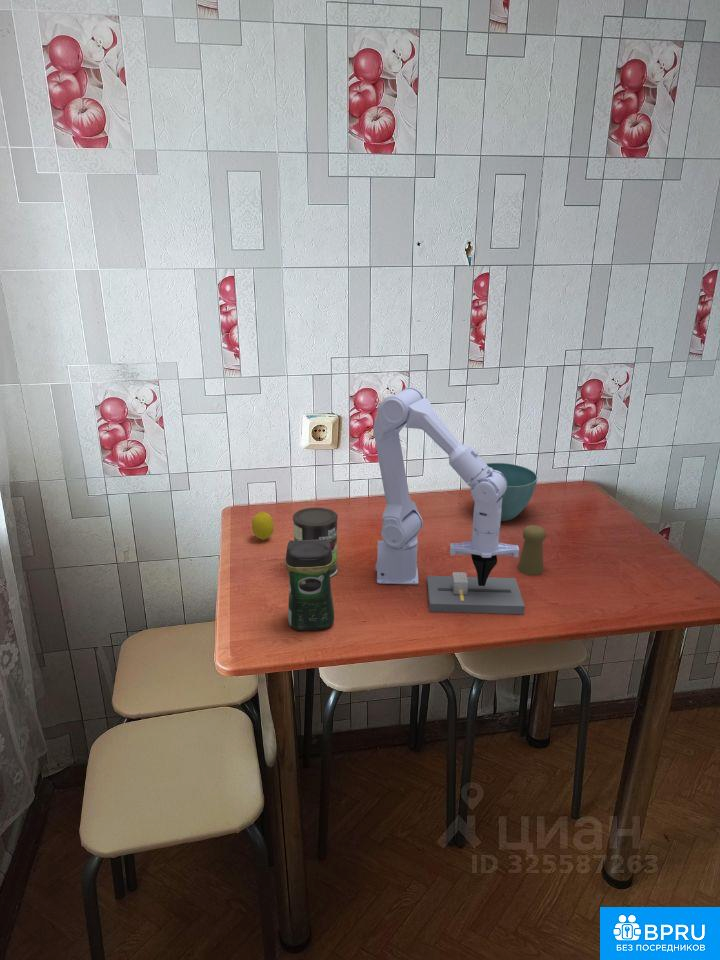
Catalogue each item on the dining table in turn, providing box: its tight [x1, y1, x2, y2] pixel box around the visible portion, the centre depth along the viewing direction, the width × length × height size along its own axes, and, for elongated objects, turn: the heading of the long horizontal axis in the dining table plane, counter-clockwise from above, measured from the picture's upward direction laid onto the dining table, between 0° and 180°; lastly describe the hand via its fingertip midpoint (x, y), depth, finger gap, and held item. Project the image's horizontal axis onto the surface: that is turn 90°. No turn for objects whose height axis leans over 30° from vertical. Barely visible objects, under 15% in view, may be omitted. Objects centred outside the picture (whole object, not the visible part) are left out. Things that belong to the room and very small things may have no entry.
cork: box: [517, 524, 547, 576], centre depth 170 cm, size 6×6×11 cm
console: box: [426, 575, 526, 615], centre depth 159 cm, size 20×12×2 cm, turn 88°
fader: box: [451, 571, 468, 595], centre depth 158 cm, size 3×4×3 cm
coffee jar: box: [284, 539, 335, 631], centre depth 147 cm, size 10×8×19 cm
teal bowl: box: [469, 462, 538, 522], centre depth 198 cm, size 18×18×12 cm
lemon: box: [251, 510, 275, 541], centre depth 184 cm, size 6×6×8 cm
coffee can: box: [292, 507, 338, 579], centre depth 168 cm, size 10×10×14 cm
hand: (481, 583), depth 158 cm, fingers closed
